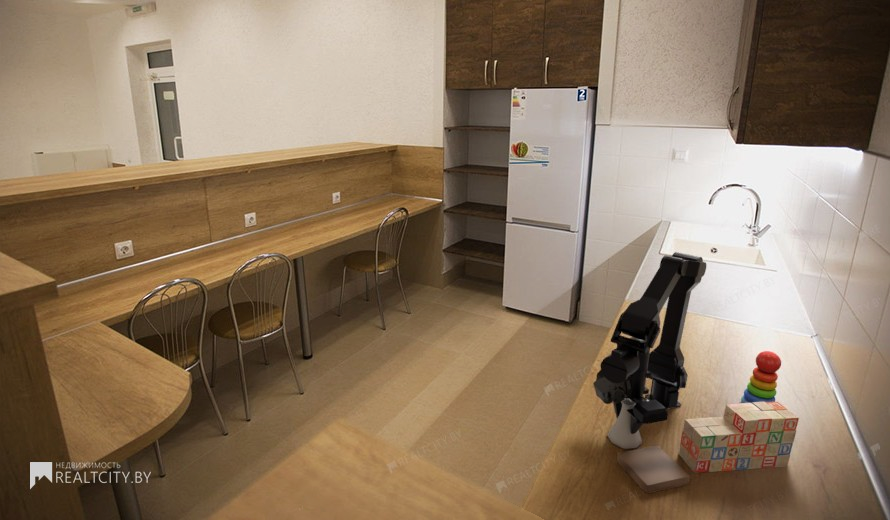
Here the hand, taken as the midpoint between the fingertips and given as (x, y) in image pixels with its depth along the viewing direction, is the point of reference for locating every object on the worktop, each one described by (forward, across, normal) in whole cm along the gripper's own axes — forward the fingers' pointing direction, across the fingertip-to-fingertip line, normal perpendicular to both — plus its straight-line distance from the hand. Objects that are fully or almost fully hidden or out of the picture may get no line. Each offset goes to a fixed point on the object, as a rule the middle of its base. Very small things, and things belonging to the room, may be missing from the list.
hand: (626, 426), depth 115 cm
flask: (+4, 0, 0) cm, 4 cm away
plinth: (+4, +11, -1) cm, 12 cm away
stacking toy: (+4, +2, +35) cm, 35 cm away
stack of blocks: (+4, +12, +18) cm, 23 cm away
